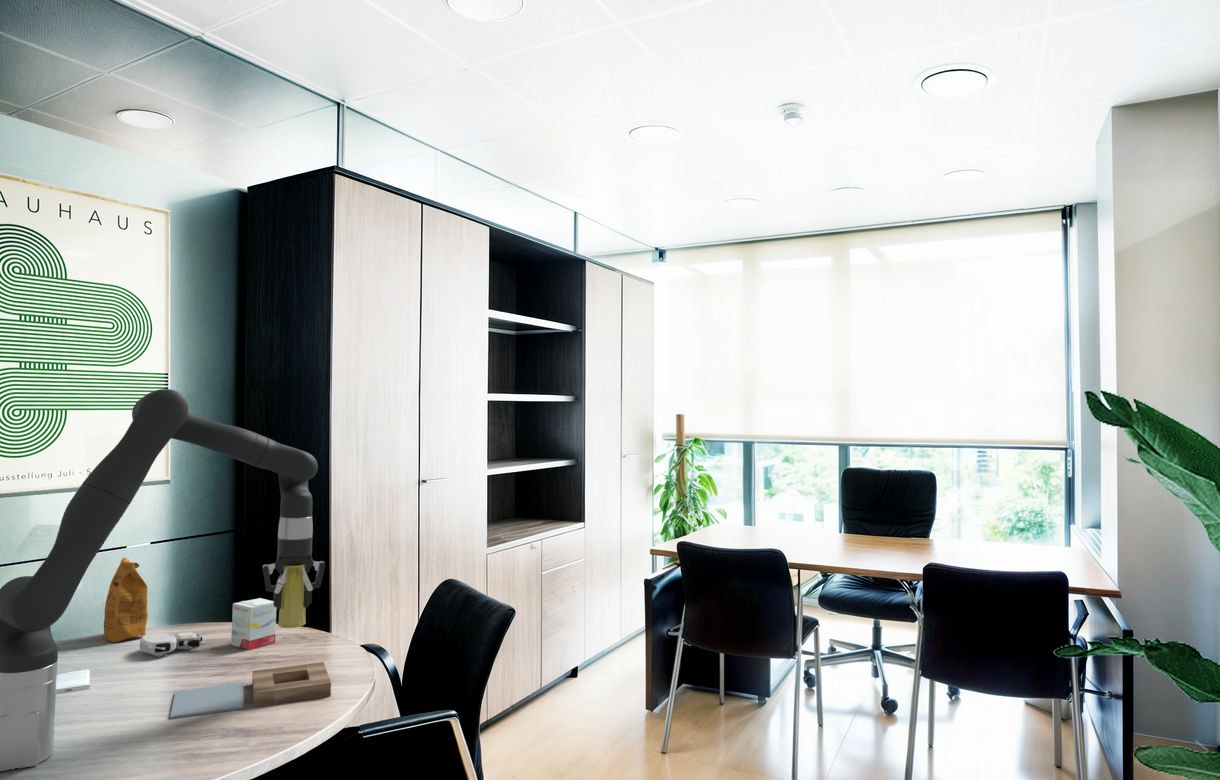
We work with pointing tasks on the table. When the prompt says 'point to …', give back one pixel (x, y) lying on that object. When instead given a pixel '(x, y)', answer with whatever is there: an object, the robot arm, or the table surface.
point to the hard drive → (72, 681)
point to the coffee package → (126, 604)
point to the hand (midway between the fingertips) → (292, 607)
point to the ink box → (253, 623)
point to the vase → (292, 598)
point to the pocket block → (290, 684)
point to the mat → (207, 700)
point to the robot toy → (169, 642)
